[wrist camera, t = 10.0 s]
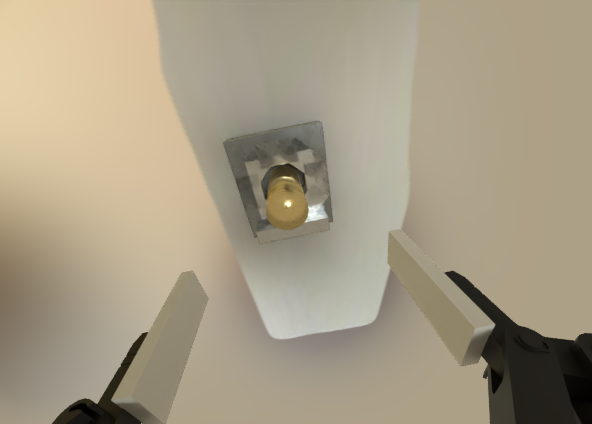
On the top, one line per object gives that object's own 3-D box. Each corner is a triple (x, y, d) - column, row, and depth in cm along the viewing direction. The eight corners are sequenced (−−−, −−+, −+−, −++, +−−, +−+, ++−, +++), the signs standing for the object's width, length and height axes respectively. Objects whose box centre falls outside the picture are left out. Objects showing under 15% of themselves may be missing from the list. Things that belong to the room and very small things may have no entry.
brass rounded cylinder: (262, 179, 30) (256, 211, 21) (285, 159, 29) (289, 183, 20) (282, 200, 32) (285, 237, 23) (305, 181, 31) (317, 213, 22)
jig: (227, 139, 27) (218, 145, 23) (318, 120, 27) (326, 123, 23) (256, 228, 33) (253, 246, 29) (329, 213, 33) (336, 229, 29)
